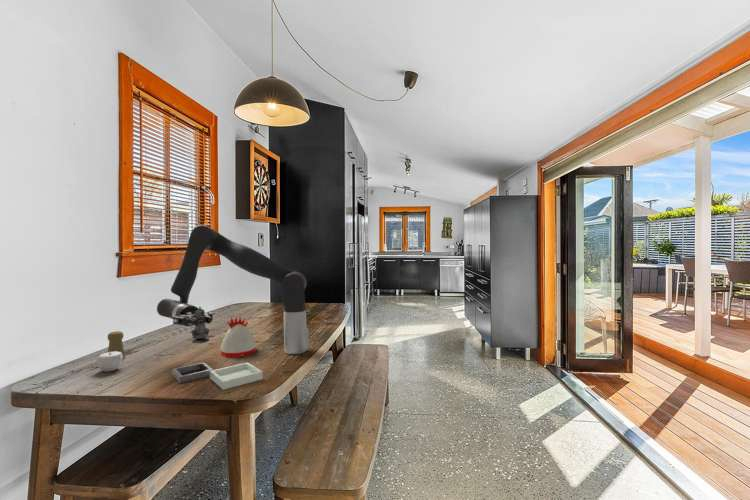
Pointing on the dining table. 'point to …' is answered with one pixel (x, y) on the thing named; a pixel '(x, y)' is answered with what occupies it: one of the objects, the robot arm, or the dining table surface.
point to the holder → (177, 373)
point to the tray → (235, 375)
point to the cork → (116, 342)
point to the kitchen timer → (238, 340)
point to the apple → (109, 361)
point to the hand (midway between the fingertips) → (203, 321)
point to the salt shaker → (200, 327)
